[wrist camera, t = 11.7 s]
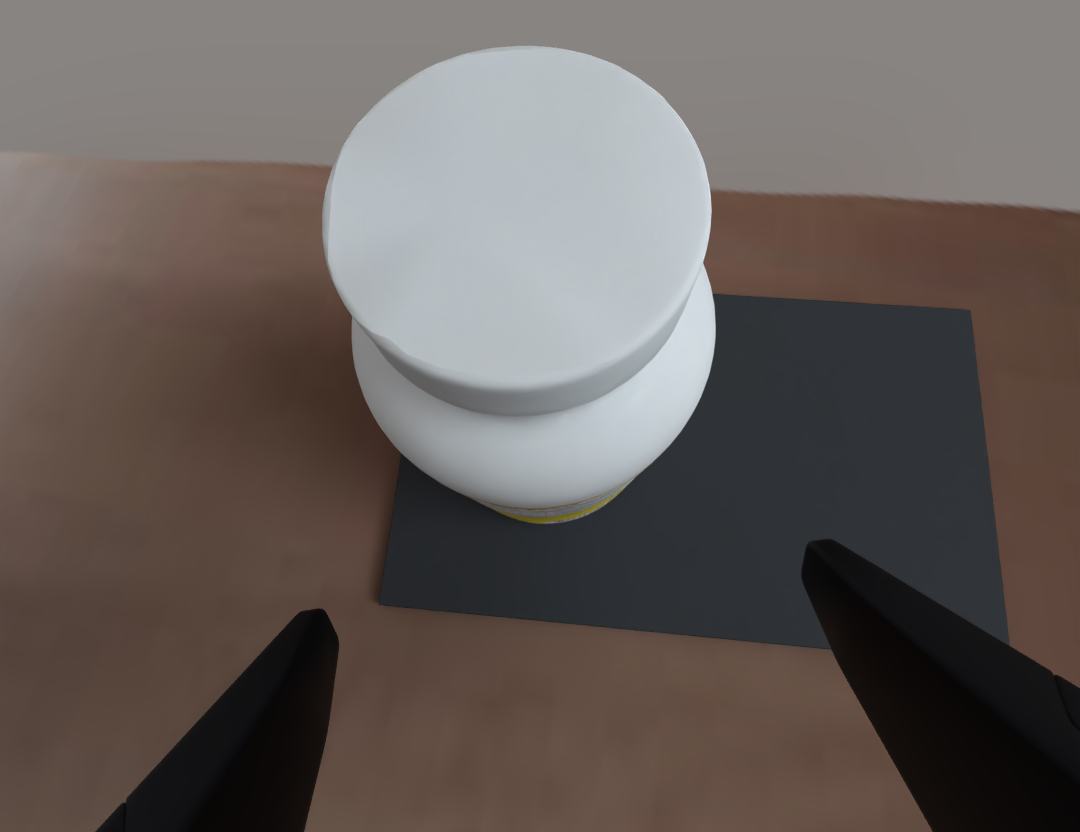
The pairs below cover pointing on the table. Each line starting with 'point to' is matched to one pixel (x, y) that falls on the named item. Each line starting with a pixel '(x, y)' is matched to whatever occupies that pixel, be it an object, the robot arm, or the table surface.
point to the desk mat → (749, 491)
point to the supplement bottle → (525, 275)
